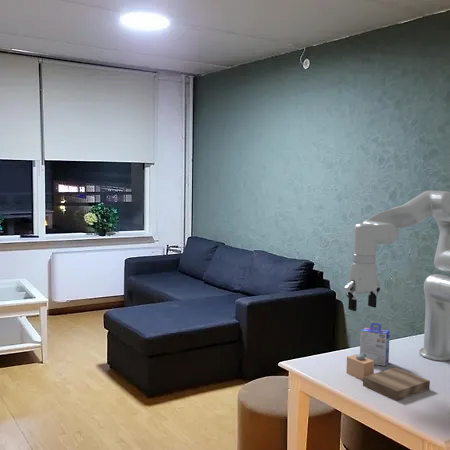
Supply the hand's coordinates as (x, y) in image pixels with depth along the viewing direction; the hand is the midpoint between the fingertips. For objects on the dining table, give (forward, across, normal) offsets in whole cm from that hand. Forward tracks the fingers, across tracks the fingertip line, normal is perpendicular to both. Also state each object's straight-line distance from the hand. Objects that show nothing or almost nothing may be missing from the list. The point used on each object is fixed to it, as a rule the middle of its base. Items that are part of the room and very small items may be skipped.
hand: (362, 308), depth 188 cm
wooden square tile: (+24, -2, +14) cm, 28 cm away
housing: (+24, 0, 0) cm, 24 cm away
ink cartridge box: (+24, -14, -6) cm, 28 cm away
